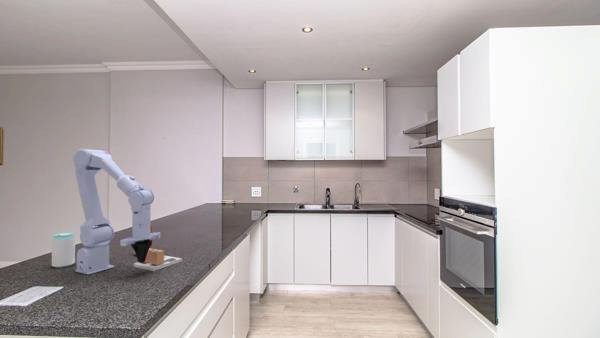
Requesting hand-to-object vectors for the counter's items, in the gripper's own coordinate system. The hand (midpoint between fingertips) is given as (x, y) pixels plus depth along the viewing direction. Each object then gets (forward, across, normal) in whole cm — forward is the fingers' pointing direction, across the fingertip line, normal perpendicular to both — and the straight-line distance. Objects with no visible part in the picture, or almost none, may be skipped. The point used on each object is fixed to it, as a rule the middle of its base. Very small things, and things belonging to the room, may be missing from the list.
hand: (141, 261), depth 110 cm
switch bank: (+4, +10, +3) cm, 11 cm away
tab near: (+2, +7, 0) cm, 7 cm away
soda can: (+4, +16, +21) cm, 27 cm away
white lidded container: (+4, -8, +34) cm, 35 cm away
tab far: (+2, +6, +6) cm, 9 cm away
